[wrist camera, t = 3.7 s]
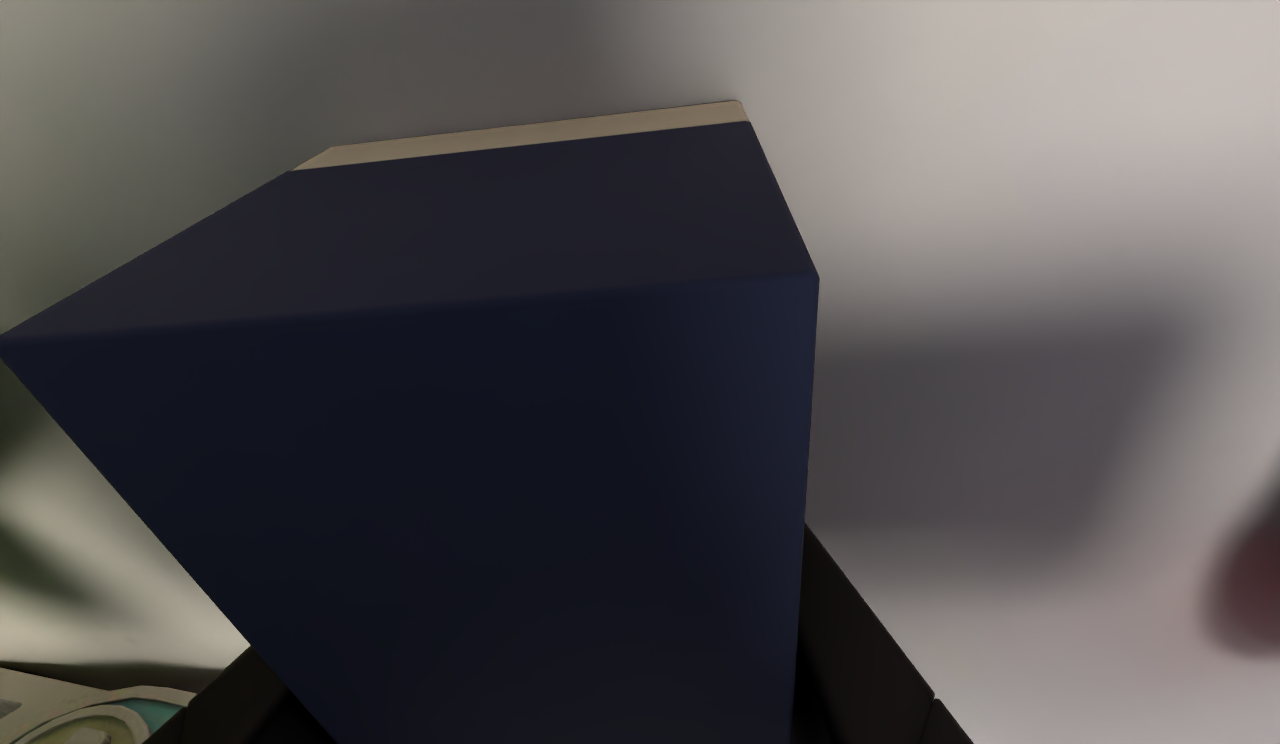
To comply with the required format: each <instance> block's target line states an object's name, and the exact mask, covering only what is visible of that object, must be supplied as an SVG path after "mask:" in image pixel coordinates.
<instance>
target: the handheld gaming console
mask: <svg viewBox="0 0 1280 744" xmlns="http://www.w3.org/2000/svg"><path fill="white" fill-rule="evenodd" d="M195 695H197V694H196V693H191V692H187V691H182V690H177V689H173V688H166V687H155V686H144V685H143V686H135V687H129V688H124V689H118V690H113V691H106V690H101V689H97V688H92V687H87V686H83V685H78V684H73V683H69V682H64V681H60V680H55V679H50V678H46V677H41V676H36V675H32V674H27V673H22V672H18V671H13V670H9V669H4V668H0V744H142V743H143V742H144V741H145V740H146V739H147V738H149V737H150V736H151V735H152V734H153V733H154V732H155V731H156V730H158V729H159V728H160V727H161V726H162V725H163V724H164V723H165V722H166V721H168V720H169V719H170V718H171V717H172V716H173V715H174V714H175V713H176V712H177V711H179V710H180V709H181V708H182V707H185V706H188V702H189V701H190V700H191V699H192V698H193V697H194V696H195Z"/></svg>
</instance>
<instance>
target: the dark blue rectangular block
mask: <svg viewBox="0 0 1280 744" xmlns="http://www.w3.org/2000/svg"><path fill="white" fill-rule="evenodd" d="M818 294H819V276H818V273H817V271H816V269H815V266H814V264H813V262H812V260H811V257H810V255H809V253H808V251H807V248H806V246H805V244H804V242H803V239H802V237H801V235H800V233H799V230H798V228H797V226H796V224H795V221H794V219H793V217H792V215H791V212H790V210H789V208H788V206H787V203H786V201H785V199H784V197H783V194H782V192H781V190H780V188H779V185H778V183H777V181H776V179H775V176H774V174H773V172H772V170H771V167H770V165H769V163H768V161H767V158H766V156H765V154H764V152H763V149H762V147H761V145H760V143H759V140H758V138H757V136H756V134H755V131H754V129H753V127H752V125H751V122H749V120H748V118H747V115H746V113H745V111H744V109H743V106H742V104H741V102H738V101H728V102H719V103H711V104H702V105H693V106H684V107H675V108H667V109H658V110H649V111H640V112H631V113H623V114H614V115H605V116H596V117H588V118H579V119H570V120H561V121H552V122H544V123H535V124H526V125H517V126H508V127H500V128H491V129H482V130H473V131H464V132H456V133H447V134H438V135H429V136H421V137H412V138H403V139H394V140H385V141H377V142H368V143H359V144H350V145H341V146H333V147H330V148H329V149H327V150H325V151H323V152H322V153H320V154H318V155H316V156H315V157H313V158H311V159H310V160H308V161H306V162H304V163H303V164H301V165H299V166H297V167H296V168H294V169H293V170H292V171H287V172H285V173H284V174H282V175H280V176H278V177H277V178H275V179H273V180H271V181H270V182H268V183H266V184H264V185H263V186H261V187H259V188H257V189H256V190H254V191H252V192H250V193H249V194H247V195H245V196H243V197H242V198H240V199H238V200H236V201H235V202H233V203H231V204H229V205H228V206H226V207H224V208H222V209H221V210H219V211H217V212H215V213H214V214H212V215H210V216H208V217H207V218H205V219H203V220H201V221H200V222H198V223H196V224H194V225H193V226H191V227H189V228H187V229H186V230H184V231H182V232H180V233H179V234H177V235H175V236H173V237H172V238H170V239H168V240H166V241H165V242H163V243H161V244H159V245H158V246H156V247H154V248H152V249H151V250H149V251H147V252H145V253H144V254H142V255H140V256H138V257H137V258H135V259H133V260H131V261H130V262H128V263H126V264H124V265H123V266H121V267H119V268H117V269H116V270H114V271H112V272H110V273H109V274H107V275H105V276H103V277H102V278H100V279H98V280H96V281H95V282H93V283H91V284H89V285H88V286H86V287H84V288H82V289H80V290H79V291H77V292H75V293H73V294H72V295H70V296H68V297H66V298H65V299H63V300H61V301H59V302H58V303H56V304H54V305H52V306H51V307H49V308H47V309H45V310H44V311H42V312H40V313H38V314H37V315H35V316H33V317H31V318H30V319H28V320H26V321H24V322H23V323H21V324H19V325H17V326H16V327H14V328H12V329H10V330H9V331H7V332H5V333H3V334H2V335H0V358H1V359H2V360H3V361H4V363H5V364H6V365H7V366H8V367H9V368H10V369H11V371H12V372H13V373H14V374H15V375H16V376H17V377H18V379H19V380H20V381H21V382H22V383H23V384H24V385H25V387H26V388H27V389H28V390H29V391H30V392H31V393H32V395H33V396H34V397H35V398H36V399H37V400H38V402H39V403H40V404H41V405H42V406H43V407H44V408H45V410H46V411H47V412H48V413H49V414H50V415H51V416H52V418H53V419H54V420H55V421H56V422H57V423H58V424H59V426H60V427H61V428H62V429H63V430H64V431H65V432H66V434H67V435H68V436H69V437H70V438H71V439H72V441H73V442H74V443H75V444H76V445H77V446H78V447H79V449H80V450H81V451H82V452H83V453H84V454H85V455H86V457H87V458H88V459H89V460H90V461H91V462H92V463H93V465H94V466H95V467H96V468H97V469H98V470H99V471H100V473H101V474H102V475H103V476H104V477H105V478H106V479H107V481H108V482H109V483H110V484H111V485H112V486H113V488H114V489H115V490H116V491H117V492H118V493H119V494H120V496H121V497H122V498H123V499H124V500H125V501H126V502H127V504H128V505H129V506H130V507H131V508H132V509H133V510H134V512H135V513H136V514H137V515H138V516H139V517H140V518H141V520H142V521H143V522H144V523H145V524H146V525H147V526H148V528H149V529H150V530H151V531H152V532H153V533H154V535H155V536H156V537H157V538H158V539H159V540H160V541H161V543H162V544H163V545H164V546H165V547H166V548H167V549H168V551H169V552H170V553H171V554H172V555H173V556H174V557H175V559H176V560H177V561H178V562H179V563H180V564H181V565H182V567H183V568H184V569H185V570H186V571H187V572H188V573H189V575H190V576H191V577H192V578H193V579H194V580H195V582H196V583H197V584H198V585H199V586H200V587H201V588H202V590H203V591H204V592H205V593H206V594H207V595H208V596H209V598H210V599H211V600H212V601H213V602H214V603H215V604H216V606H217V607H218V608H219V609H220V610H221V611H222V612H223V614H224V615H225V616H226V617H227V618H228V619H229V620H230V622H231V623H232V624H233V625H234V626H235V627H236V629H237V630H238V631H239V632H240V633H241V634H242V635H243V637H244V638H245V639H246V640H247V641H248V642H249V643H250V645H251V646H252V647H253V648H254V649H255V650H256V651H257V653H258V654H259V655H260V656H261V657H262V658H263V659H264V661H265V662H266V663H267V664H268V665H269V666H270V667H271V669H272V670H273V671H274V672H275V673H276V674H277V676H278V677H279V678H280V679H281V680H282V681H283V682H284V684H285V685H286V686H287V687H288V688H289V689H290V690H291V692H292V693H293V694H294V695H295V696H296V697H297V698H298V700H299V701H300V702H301V703H302V704H303V705H304V706H305V708H306V709H307V710H308V711H309V712H310V713H311V714H312V716H313V717H314V718H315V719H316V720H317V721H318V723H319V724H320V725H321V726H322V727H323V728H324V729H325V731H326V732H327V733H328V734H329V735H330V736H331V737H332V739H333V740H334V741H335V742H336V743H337V744H791V735H792V718H793V702H794V686H795V669H796V653H797V637H798V620H799V604H800V588H801V572H802V555H803V539H804V523H805V506H806V490H807V474H808V457H809V441H810V425H811V409H812V392H813V376H814V360H815V343H816V327H817V311H818Z"/></svg>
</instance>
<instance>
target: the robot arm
mask: <svg viewBox="0 0 1280 744" xmlns="http://www.w3.org/2000/svg"><path fill="white" fill-rule="evenodd" d="M934 697H935V693H934V692H933V690H932V689H931V688H930V686H929V685H928V684H927V682H926V681H925V680H924V678H923V677H922V676H921V674H920V673H919V672H918V671H917V669H916V668H915V667H914V665H913V664H912V663H911V661H910V660H909V659H908V657H907V656H906V655H905V653H904V652H903V651H902V649H901V648H900V647H899V646H898V644H897V643H896V642H895V640H894V639H893V638H892V636H891V635H890V634H889V632H888V631H887V630H886V628H885V627H884V626H883V624H882V623H881V622H880V620H879V619H878V618H877V617H876V615H875V614H874V613H873V611H872V610H871V609H870V607H869V606H868V605H867V603H866V602H865V601H864V599H863V598H862V597H861V595H860V594H859V593H858V591H857V590H856V589H855V588H854V586H853V585H852V584H851V582H850V581H849V580H848V578H847V577H846V576H845V574H844V573H843V572H842V570H841V569H840V568H839V566H838V565H837V564H836V563H835V561H834V560H833V559H832V557H831V556H830V555H829V553H828V552H827V551H826V549H825V548H824V547H823V545H822V544H821V543H820V541H819V540H818V539H817V537H816V536H815V535H814V534H813V532H812V531H811V530H810V528H809V527H808V526H807V524H806V523H804V539H803V555H802V572H801V588H800V604H799V620H798V637H797V653H796V669H795V686H794V702H793V718H792V735H791V744H974V743H973V742H972V741H971V739H970V738H969V737H968V736H967V734H966V733H965V732H964V731H963V729H962V728H961V727H960V725H959V724H958V723H957V721H956V720H955V719H954V718H953V716H952V715H951V714H950V712H949V711H948V710H947V708H946V707H945V706H944V704H943V703H942V702H941V700H939V699H934ZM142 744H337V743H336V742H335V741H334V740H333V739H332V737H331V736H330V735H329V734H328V733H327V732H326V731H325V729H324V728H323V727H322V726H321V725H320V724H319V723H318V721H317V720H316V719H315V718H314V717H313V716H312V714H311V713H310V712H309V711H308V710H307V709H306V708H305V706H304V705H303V704H302V703H301V702H300V701H299V700H298V698H297V697H296V696H295V695H294V694H293V693H292V692H291V690H290V689H289V688H288V687H287V686H286V685H285V684H284V682H283V681H282V680H281V679H280V678H279V677H278V676H277V674H276V673H275V672H274V671H273V670H272V669H271V667H270V666H269V665H268V664H267V663H266V662H265V661H264V659H263V658H262V657H261V656H260V655H259V654H258V653H257V651H256V650H255V649H254V648H253V647H252V646H250V647H249V648H247V649H246V650H245V651H244V652H243V653H242V654H241V655H240V656H239V657H237V658H236V659H235V660H234V661H233V662H232V663H231V664H230V665H229V666H228V667H226V668H225V669H224V670H223V671H222V672H221V673H220V674H219V675H218V676H216V677H215V678H214V679H213V680H212V681H211V682H210V683H209V684H208V685H207V686H205V687H204V688H203V689H202V690H201V691H200V692H199V693H198V694H197V695H195V696H194V697H193V698H192V699H191V700H190V701H189V702H188V706H185V707H182V708H181V709H180V710H179V711H177V712H176V713H175V714H174V715H173V716H172V717H171V718H170V719H169V720H168V721H166V722H165V723H164V724H163V725H162V726H161V727H160V728H159V729H158V730H156V731H155V732H154V733H153V734H152V735H151V736H150V737H149V738H147V739H146V740H145V741H144V742H143V743H142Z"/></svg>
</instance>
